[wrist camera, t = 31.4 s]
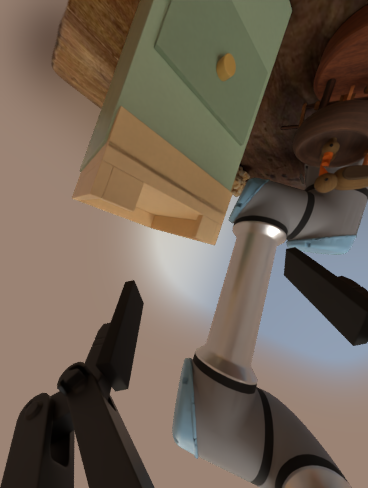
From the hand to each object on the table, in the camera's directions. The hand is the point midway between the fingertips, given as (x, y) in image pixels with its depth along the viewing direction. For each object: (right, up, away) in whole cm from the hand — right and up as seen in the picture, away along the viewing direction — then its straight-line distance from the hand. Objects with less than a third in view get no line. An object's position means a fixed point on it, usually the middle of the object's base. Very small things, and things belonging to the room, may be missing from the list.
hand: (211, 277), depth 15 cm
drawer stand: (+1, +35, +8) cm, 36 cm away
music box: (+21, +28, +8) cm, 36 cm away
